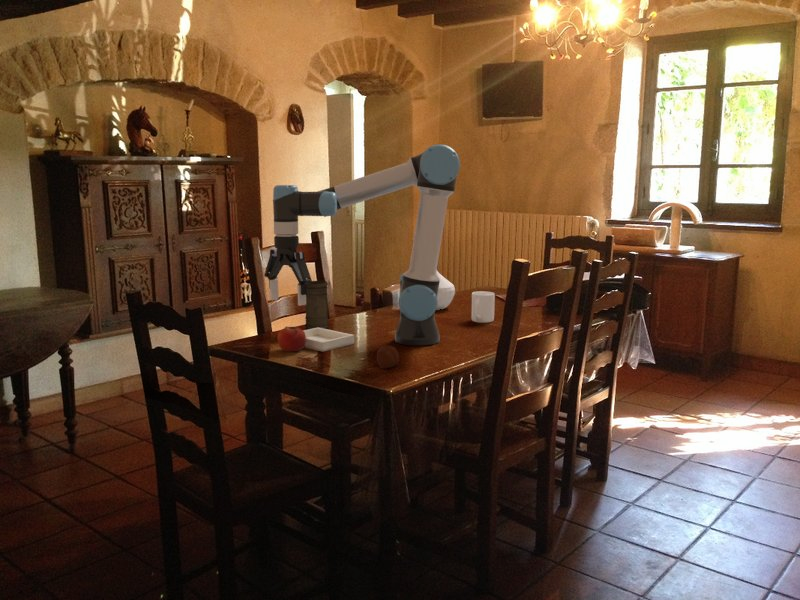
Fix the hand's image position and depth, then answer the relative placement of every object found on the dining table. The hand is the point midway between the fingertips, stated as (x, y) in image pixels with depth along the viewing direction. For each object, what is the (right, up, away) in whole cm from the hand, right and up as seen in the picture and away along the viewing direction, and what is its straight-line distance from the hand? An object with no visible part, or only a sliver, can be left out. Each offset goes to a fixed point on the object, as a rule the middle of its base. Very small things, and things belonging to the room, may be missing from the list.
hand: (288, 302), depth 222 cm
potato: (+32, -19, -16) cm, 40 cm away
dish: (+9, -14, +12) cm, 20 cm away
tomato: (+1, -16, +3) cm, 16 cm away
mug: (+66, -8, +46) cm, 81 cm away
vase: (+49, -3, +73) cm, 88 cm away
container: (+6, -11, +30) cm, 32 cm away
